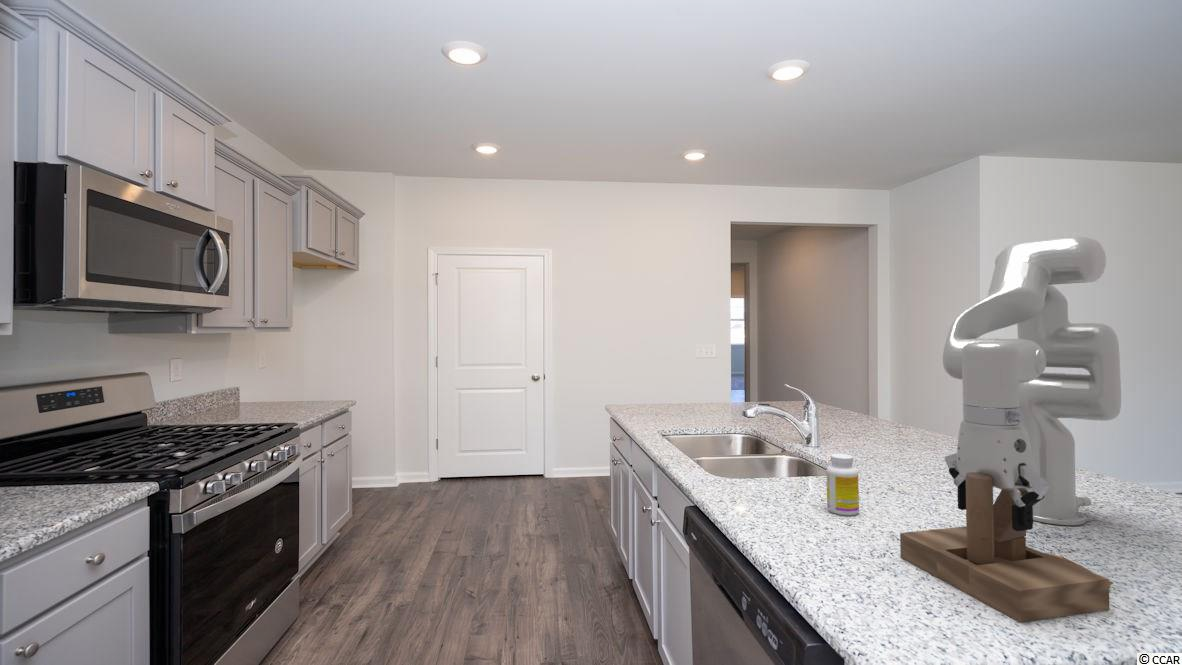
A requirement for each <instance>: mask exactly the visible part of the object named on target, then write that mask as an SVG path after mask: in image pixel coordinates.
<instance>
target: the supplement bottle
mask: <svg viewBox="0 0 1182 665" xmlns="http://www.w3.org/2000/svg"><path fill="white" fill-rule="evenodd" d="M830 462H831V465H828V466H827V468H826V472H825V473H826V504H827V505H826V506H827V510H828V511H829V512H831V513H833V514H836V515H840V516H847V517H848V516H849V517H850V516H855V515H857V514H859V512H860V499H859V497H860V496H859V495H860V494H859V493H860V492H859V471H858V469H857V468H856V467H854V466H853V463H854V457H853V455H851V454H844V453H833V454H831V455H830Z"/></svg>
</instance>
